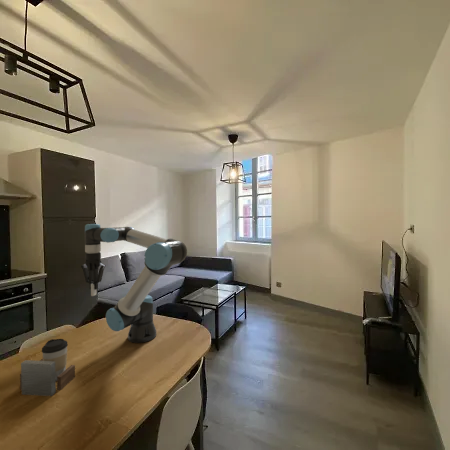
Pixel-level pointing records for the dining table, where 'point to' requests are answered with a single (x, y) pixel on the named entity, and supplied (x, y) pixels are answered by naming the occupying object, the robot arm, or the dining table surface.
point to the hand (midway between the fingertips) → (93, 295)
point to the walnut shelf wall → (61, 377)
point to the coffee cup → (56, 354)
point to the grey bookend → (38, 378)
